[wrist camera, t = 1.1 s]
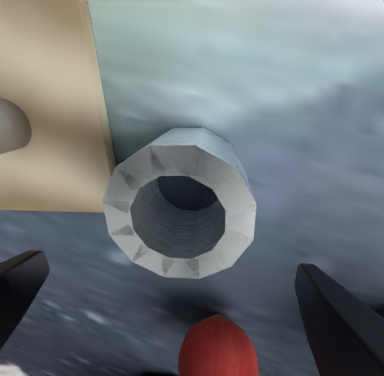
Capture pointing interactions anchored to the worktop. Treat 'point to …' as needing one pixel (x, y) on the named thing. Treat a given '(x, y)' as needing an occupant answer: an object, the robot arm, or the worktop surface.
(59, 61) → the post board
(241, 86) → the worktop surface
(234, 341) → the onion
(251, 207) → the steel ring
